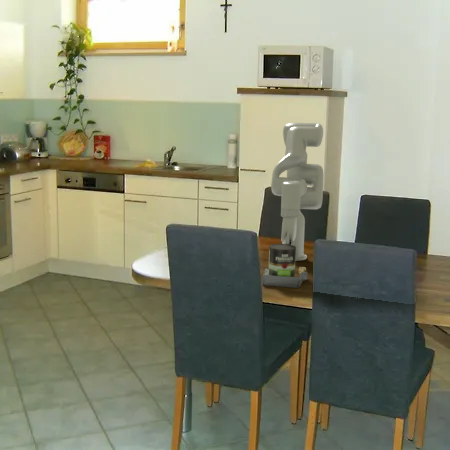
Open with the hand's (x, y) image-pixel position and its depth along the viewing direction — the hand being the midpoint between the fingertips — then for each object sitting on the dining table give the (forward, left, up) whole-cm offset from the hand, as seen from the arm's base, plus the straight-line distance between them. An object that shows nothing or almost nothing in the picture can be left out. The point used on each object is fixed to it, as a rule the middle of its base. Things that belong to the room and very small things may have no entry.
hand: (288, 256), depth 277 cm
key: (-2, +5, -7) cm, 9 cm away
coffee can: (+14, -1, -7) cm, 16 cm away
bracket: (+14, 0, -7) cm, 15 cm away
